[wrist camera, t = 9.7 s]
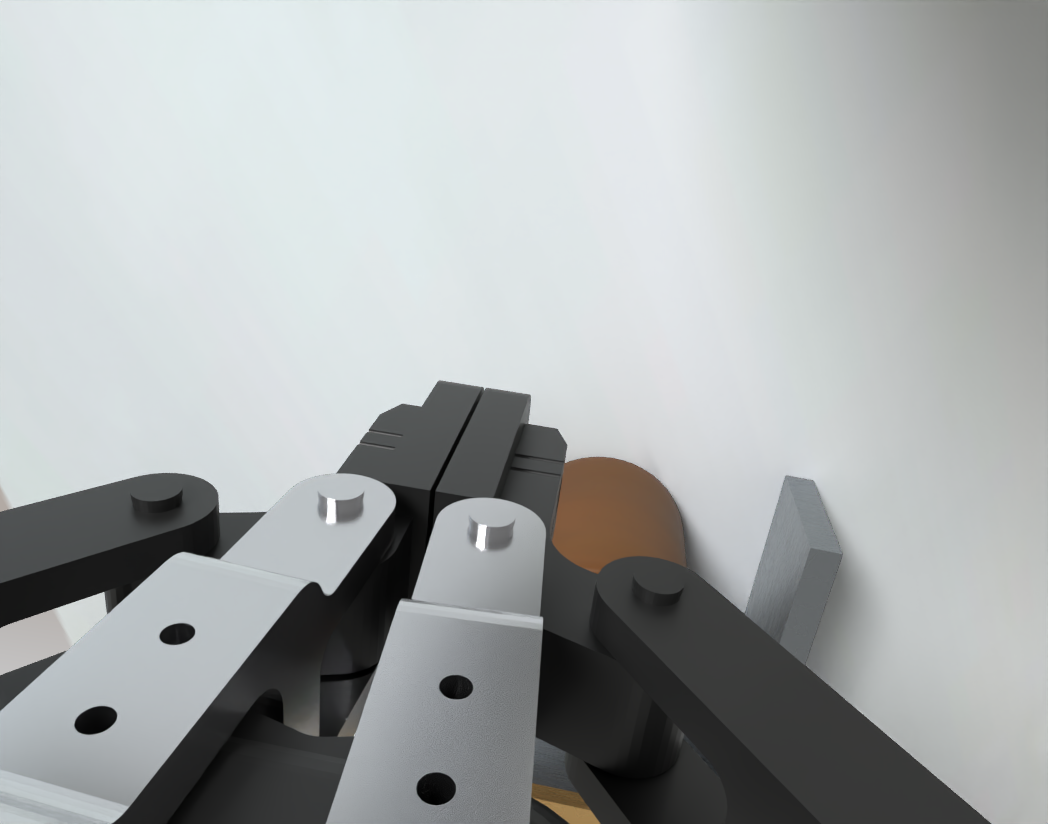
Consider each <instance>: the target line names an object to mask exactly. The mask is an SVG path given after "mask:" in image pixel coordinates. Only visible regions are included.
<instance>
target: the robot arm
mask: <svg viewBox="0 0 1048 824" xmlns="http://www.w3.org/2000/svg"><path fill="white" fill-rule="evenodd" d="M530 403H531V395H528V394H522V393H516V392H510V391H503V390H497V389H491V388H486V389H485V391H484V388H483V387H478V386H471V385H465V384H459V383H453V382H446V381H438V382H437V384H436V385H435V387H434V388H433V390H432V392H431V393H430V395H429V396H428V398H427V399H426V401H425V402H424V404H423V405H422V407H419V406H413V405H407V404H401V405H399V406H397V407H395V408H393V409H391V410H388V411H386V412H384V413H382V414H380V415H379V417H378V418H377V419H376V421H375V422H374V423H373V425H372V426H371V428H370V429H369V432H367V433H366V434H365V436H364V437H363V438H362V440H361V441H360V445H357V446H356V448H355V449H354V450H353V452H352V453H351V454H350V456H349V457H348V458H347V460H346V461H345V462H344V464H343V465H342V466H341V468H340V469H339V470H338V472H337V473H336V474H325V475H320V476H315V477H312V478H309V479H306V480H304V481H301V482H300V483H298V484H296V485H295V486H293V487H292V488H291V489H290V490H289V491H288V492H287V493H286V494H285V495H284V496H283V497H282V498H281V499H280V500H279V501H278V502H277V503H276V504H275V505H274V506H273V507H272V508H271V509H270V510H269V511H268V512H252V513H219V500H218V493H217V490H216V489H215V488H214V486H213V485H211V484H210V483H209V482H207V481H205V480H203V479H201V478H198V477H195V476H190V475H186V474H177V473H159V474H149V475H143V476H138V477H134V478H130V479H126V480H122V481H118V482H114V483H111V484H107V485H103V486H99V487H95V488H91V489H87V490H83V491H79V492H76V493H72V494H68V495H64V496H60V497H56V498H52V499H48V500H45V501H41V502H37V503H33V504H29V505H25V506H21V507H17V508H13V509H10V510H6V511H2V512H0V628H1V627H3V626H5V625H8V624H10V623H13V622H16V621H19V620H22V619H25V618H28V617H31V616H34V615H37V614H40V613H43V612H46V611H49V610H52V609H55V608H58V607H61V606H64V605H66V604H69V603H72V602H75V601H78V600H81V599H84V598H87V597H90V596H93V595H96V594H99V593H102V592H105V600H106V609H107V615H106V616H105V617H104V618H103V619H102V620H101V621H99V622H98V623H97V624H96V625H95V626H94V627H93V628H92V629H91V630H89V631H88V632H87V633H86V634H85V635H84V636H83V637H82V638H81V639H80V640H78V641H77V642H76V643H75V644H74V645H73V646H72V647H71V648H70V649H69V650H67V651H64V652H62V653H59V654H56V655H54V656H51V657H49V658H46V659H43V660H40V661H38V662H35V663H32V664H30V665H27V666H24V667H21V668H19V669H16V670H13V671H11V672H8V673H5V674H3V675H0V824H569V823H568V822H567V821H566V820H565V819H563V818H562V817H561V816H559V815H558V814H557V813H555V812H554V811H553V810H551V809H550V808H549V807H547V806H546V805H544V804H542V803H540V802H539V801H537V800H535V799H534V798H532V797H531V794H532V779H533V764H534V749H535V737H536V738H538V739H541V740H543V741H545V742H547V743H549V744H551V745H553V746H555V747H557V748H559V749H561V750H563V751H565V760H564V764H565V770H566V773H567V775H568V778H569V780H570V781H571V783H572V785H573V786H574V788H575V789H576V790H577V792H578V793H579V795H580V796H581V797H582V799H583V800H584V802H585V803H586V804H587V806H588V807H589V808H590V810H591V811H592V813H593V814H594V815H595V817H596V818H597V820H598V821H599V822H600V824H991V823H990V822H989V821H987V820H986V819H985V818H984V817H983V816H982V815H980V814H979V813H978V812H977V811H976V810H975V809H973V808H972V807H971V806H970V805H969V804H967V803H966V802H965V801H964V800H963V799H962V798H960V797H959V796H958V795H957V794H956V793H954V792H953V791H952V790H951V789H950V788H949V787H947V786H946V785H945V784H944V783H943V782H942V781H940V780H939V779H938V778H937V777H936V776H934V775H933V774H932V773H931V772H930V771H929V770H927V769H926V768H925V767H924V766H923V765H922V764H920V763H919V762H918V761H917V760H916V759H914V758H913V757H912V756H911V755H910V754H909V753H907V752H906V751H905V750H904V749H903V748H901V747H900V746H899V745H898V744H897V743H896V742H894V741H893V740H892V739H891V738H890V737H889V736H887V735H886V734H885V733H884V732H883V731H881V730H880V729H879V728H878V727H877V726H876V725H874V724H873V723H872V722H871V721H870V720H869V719H867V718H866V717H865V716H864V715H863V714H861V713H860V712H859V711H858V710H857V709H856V708H854V707H853V706H852V705H851V704H850V703H848V702H847V701H846V700H845V699H844V698H843V697H841V696H840V695H839V694H838V693H837V692H836V691H834V690H833V689H832V688H831V687H830V686H828V685H827V684H826V683H825V682H824V681H823V680H821V679H820V678H819V677H818V676H817V675H816V674H814V673H813V672H812V671H811V670H810V669H808V668H807V667H806V666H805V665H804V664H803V663H801V662H800V661H799V660H798V659H797V658H795V657H794V656H793V655H792V654H791V653H790V652H788V651H787V650H786V649H785V648H784V647H783V646H781V645H780V644H779V643H778V642H777V641H775V640H774V639H773V638H772V637H771V636H770V635H768V634H767V633H766V632H765V631H764V630H763V629H761V628H760V627H759V626H758V625H757V624H755V623H754V622H753V621H752V620H751V619H750V618H748V617H747V616H746V615H745V614H744V613H742V612H741V611H740V610H739V609H738V608H737V607H735V606H734V605H733V604H732V603H731V602H730V601H728V600H727V599H726V598H725V597H724V596H722V595H721V594H720V593H719V592H718V591H717V590H715V589H714V588H713V587H712V586H711V585H710V584H708V583H707V582H706V581H705V580H704V579H702V578H701V577H700V576H699V575H697V574H696V573H694V572H693V571H691V570H689V569H688V568H686V567H684V566H681V565H679V564H677V563H674V562H671V561H668V560H664V559H660V558H655V557H648V556H631V557H624V558H620V559H617V560H614V561H612V562H610V563H608V564H607V565H605V566H604V567H603V568H602V569H601V571H600V572H599V573H598V574H596V573H594V572H591V571H589V570H586V569H584V568H582V567H580V566H578V565H576V564H574V563H573V562H571V561H570V560H568V559H567V558H566V557H564V556H563V555H562V554H561V553H560V552H559V551H558V550H557V549H556V547H555V546H554V545H553V543H552V539H553V534H554V529H555V523H556V517H557V510H558V503H559V497H560V490H561V483H562V477H563V470H564V464H565V457H566V450H567V444H566V442H565V441H564V439H563V437H562V436H561V434H560V432H559V431H558V429H555V428H549V427H543V426H537V425H531V424H528V421H529V413H530ZM355 733H356V734H355ZM354 734H355V736H354ZM684 734H685V736H686V737H687V738H688V739H689V740H690V741H691V742H692V743H693V744H694V745H695V746H696V748H697V749H698V750H699V751H700V752H701V753H702V754H703V755H704V756H705V757H706V759H707V760H708V761H709V762H710V763H711V764H712V766H713V767H714V769H715V770H716V772H717V774H718V775H719V777H720V778H719V777H718V776H717V775H716V774H715V773H714V772H713V771H712V769H711V768H710V767H709V766H708V765H707V764H706V763H705V762H704V761H703V760H702V758H701V757H700V756H699V755H698V754H697V753H696V752H695V751H694V750H693V748H692V747H691V746H690V745H689V744H688V743H687V742H686V741H685V740H684V739H683V737H684Z"/></svg>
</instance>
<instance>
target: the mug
mask: <svg viewBox="0 0 1048 824" xmlns="http://www.w3.org/2000/svg"><path fill="white" fill-rule="evenodd" d="M552 543H553V545H554V546H555V547H556V549H557V550H558V551H559V552H560V553H561V554H562V555H563V556H564V557H566V558H567V559H568V560H570V561H571V562H573V563H574V564H576V565H578V566H580V567H582V568H584V569H586V570H589V571H591V572H594V573H596V574H598V573H599V572H600V571H601V569H602V568H603V567H604V566H605V565H607V564H608V563H610V562H612V561H614V560H617V559H620V558H624V557H631V556H648V557H655V558H660V559H664V560H668V561H671V562H674V563H677V564H679V565H681V566H684V567H686V568H687V562H686V554H685V542H684V532H683V526H682V521H681V517H680V514H679V511H678V508H677V506H676V504H675V502H674V500H673V498H672V496H671V495H670V493H669V492H668V491H667V489H666V488H665V487H664V486H663V485H662V483H661V482H660V481H659V480H657V479H656V478H655V477H654V476H653V475H652V474H650V473H649V472H647V471H645V470H644V469H642V468H640V467H638V466H636V465H634V464H632V463H629V462H626V461H623V460H619V459H614V458H607V457H588V458H581V459H577V460H573V461H570V462H567V463H565V464H564V470H563V477H562V483H561V490H560V497H559V503H558V510H557V517H556V523H555V529H554V534H553V539H552Z"/></svg>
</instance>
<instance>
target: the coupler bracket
mask: <svg viewBox="0 0 1048 824" xmlns="http://www.w3.org/2000/svg"><path fill="white" fill-rule="evenodd" d="M842 555H843V553H842V551H841V548H840V546H839V543H838V541H837V538H836V536H835V533H834V531H833V528H832V526H831V523H830V521H829V518H828V516H827V513H826V511H825V508H824V506H823V503H822V501H821V498H820V496H819V493H818V491H817V488H816V486H815V483H814V481H813V480H808V479H802V478H797V477H791V476H786V477H785V480H784V484H783V487H782V490H781V494H780V497H779V500H778V504H777V507H776V511H775V514H774V517H773V521H772V524H771V527H770V531H769V534H768V537H767V541H766V544H765V548H764V551H763V554H762V558H761V561H760V564H759V568H758V571H757V574H756V578H755V581H754V585H753V588H752V591H751V595H750V598H749V601H748V605H747V608H746V611H745V615H746V616H747V617H748V618H750V619H751V620H752V621H753V622H754V623H755V624H757V625H758V626H759V627H760V628H761V629H763V630H764V631H765V632H766V633H767V634H768V635H770V636H771V637H772V638H773V639H774V640H775V641H777V642H778V643H779V644H780V645H781V646H783V647H784V648H785V649H786V650H787V651H788V652H790V653H791V654H792V655H793V656H794V657H795V658H797V659H798V660H799V661H800V662H801V663H803V664H804V665H805V663H806V660H807V657H808V654H809V652H810V649H811V646H812V643H813V640H814V637H815V634H816V631H817V628H818V625H819V622H820V619H821V617H822V614H823V611H824V608H825V605H826V602H827V599H828V596H829V593H830V590H831V587H832V585H833V582H834V579H835V576H836V573H837V570H838V567H839V564H840V561H841V558H842ZM683 739H684V740H685V741H686V742H687V743H688V744H689V745H690V746H691V747H692V748H693V750H694V751H695V752H696V753H697V754H698V755H699V756H700V757H701V758H702V760H703V761H704V762H705V763H706V764H707V765H708V766H709V767H710V768H711V769H712V771H713V772H714V773H715V774H716V775H717V776H718V777H719V775H718V774H717V772H716V770H715V769H714V767H713V766H712V764H711V763H710V762H709V761H708V760H707V759H706V757H705V756H704V755H703V754H702V753H701V752H700V751H699V750H698V749H697V748H696V746H695V745H694V744H693V743H692V742H691V741H690V740H689V739H688V738H687V737H686V736H685V734H684V737H683ZM564 760H565V751H563V750H561V749H559V748H557V747H555V746H553V745H551V744H549V743H547V742H545V741H543V740H541V739H538V738H536V737H535V749H534V764H533V779H532V794H531V797H532V798H534V799H535V800H537V801H539V802H540V803H542V804H544V805H546V806H547V807H549V808H550V809H551V810H553V811H554V812H555V813H557V814H558V815H559V816H561V817H562V818H563V819H565V820H566V821H567V822H568V823H569V824H600V822H599V821H598V820H597V818H596V817H595V815H594V814H593V813H592V811H591V810H590V808H589V807H588V806H587V804H586V803H585V802H584V800H583V799H582V797H581V796H580V795H579V793H578V792H577V790H576V789H575V788H574V786H573V785H572V783H571V781H570V780H569V778H568V775H567V773H566V770H565V764H564ZM719 778H720V777H719Z"/></svg>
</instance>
